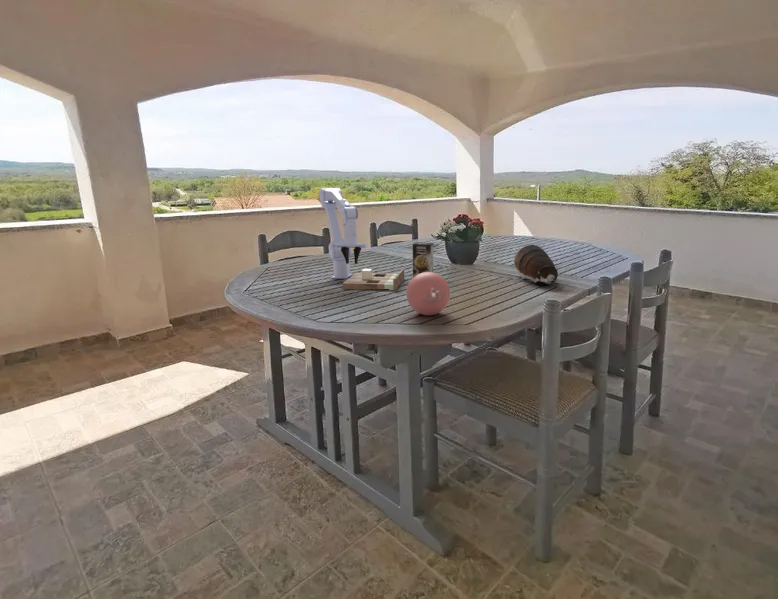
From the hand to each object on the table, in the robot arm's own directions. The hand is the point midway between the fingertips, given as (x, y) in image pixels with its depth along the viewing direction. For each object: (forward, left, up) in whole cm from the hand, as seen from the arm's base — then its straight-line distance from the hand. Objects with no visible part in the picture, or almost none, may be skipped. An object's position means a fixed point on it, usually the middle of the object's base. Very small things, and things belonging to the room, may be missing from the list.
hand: (351, 263), depth 209 cm
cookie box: (-18, +30, -10) cm, 37 cm away
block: (0, +7, -7) cm, 10 cm away
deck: (0, +10, -9) cm, 14 cm away
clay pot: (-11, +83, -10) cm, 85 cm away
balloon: (+45, +41, -10) cm, 62 cm away
